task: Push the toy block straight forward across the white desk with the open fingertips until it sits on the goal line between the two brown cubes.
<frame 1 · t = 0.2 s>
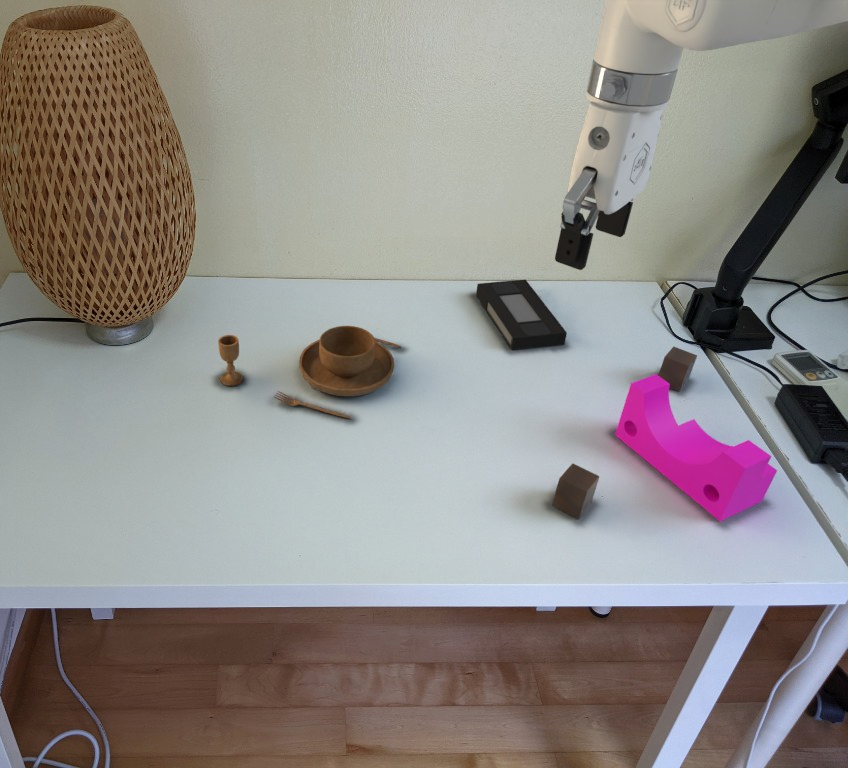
hand: (590, 248, 83), 20 cm above the table, tool pointing down, fingers open, 9 cm apart
vhs tape: (517, 320, 109), on the table
toy block: (684, 467, 85), on the table
place setting: (316, 367, 99), on the table
brown cubes: (626, 437, 89), on the table
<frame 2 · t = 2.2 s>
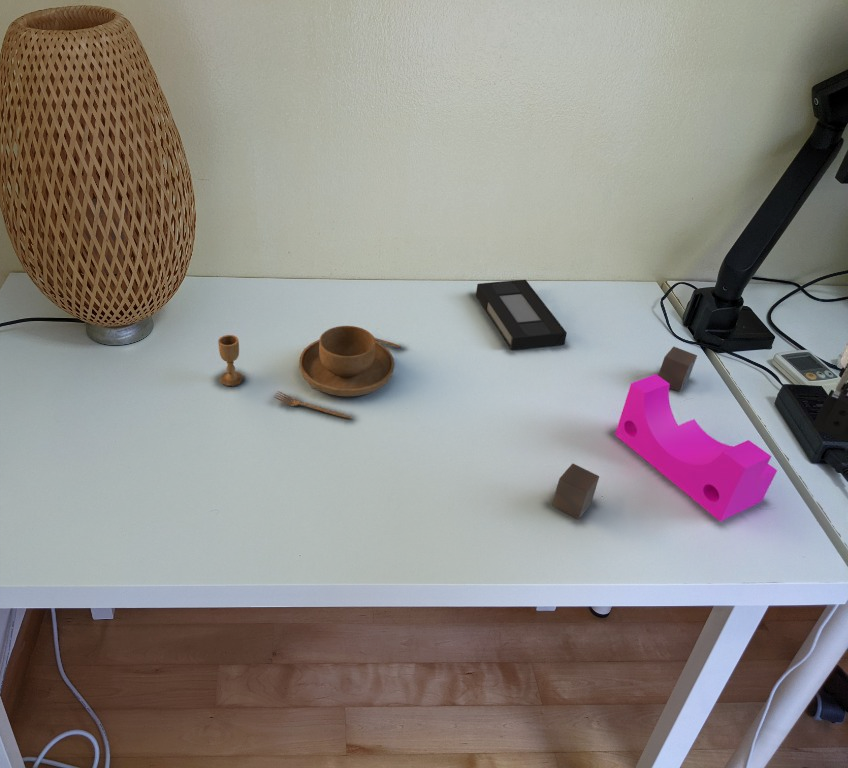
hand: (844, 406, 72), 14 cm above the table, tool pointing down, fingers open, 9 cm apart
nothing on the table moved.
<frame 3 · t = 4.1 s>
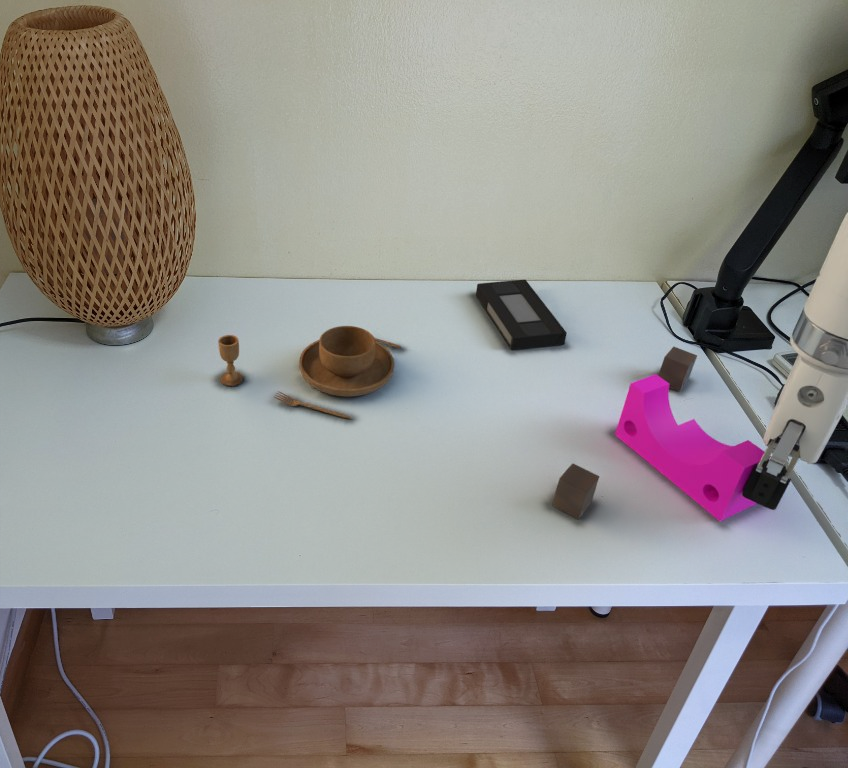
hand: (773, 475, 80), 3 cm above the table, tool pointing down, fingers open, 9 cm apart
toy block: (684, 467, 85), on the table, touching gripper
everything else where it was.
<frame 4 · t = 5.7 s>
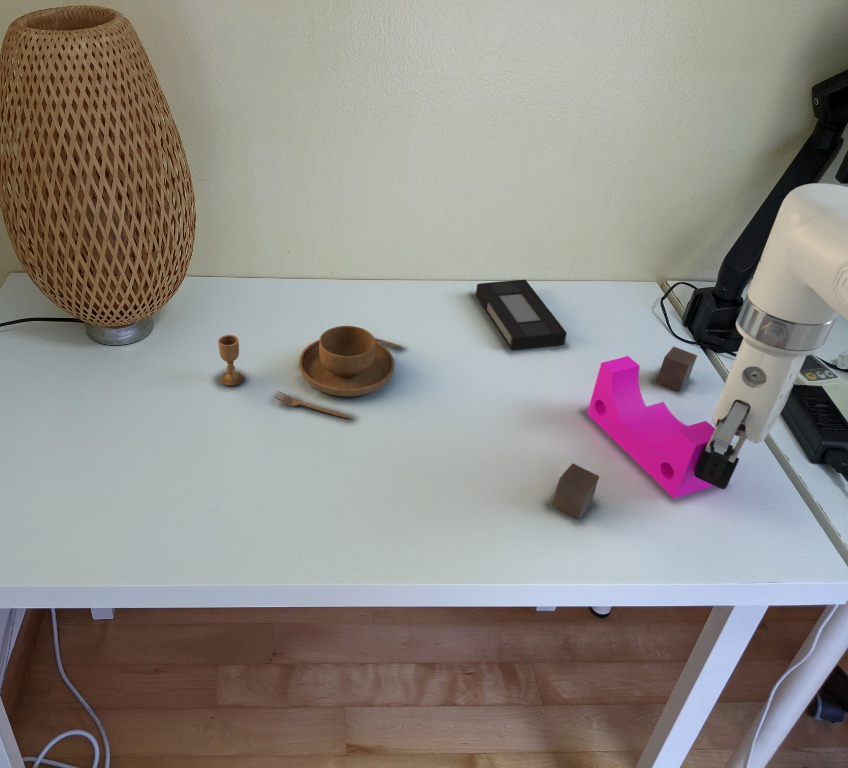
hand: (725, 457, 82), 3 cm above the table, tool pointing down, fingers open, 9 cm apart
toy block: (649, 448, 88), on the table, touching gripper
everything else where it was.
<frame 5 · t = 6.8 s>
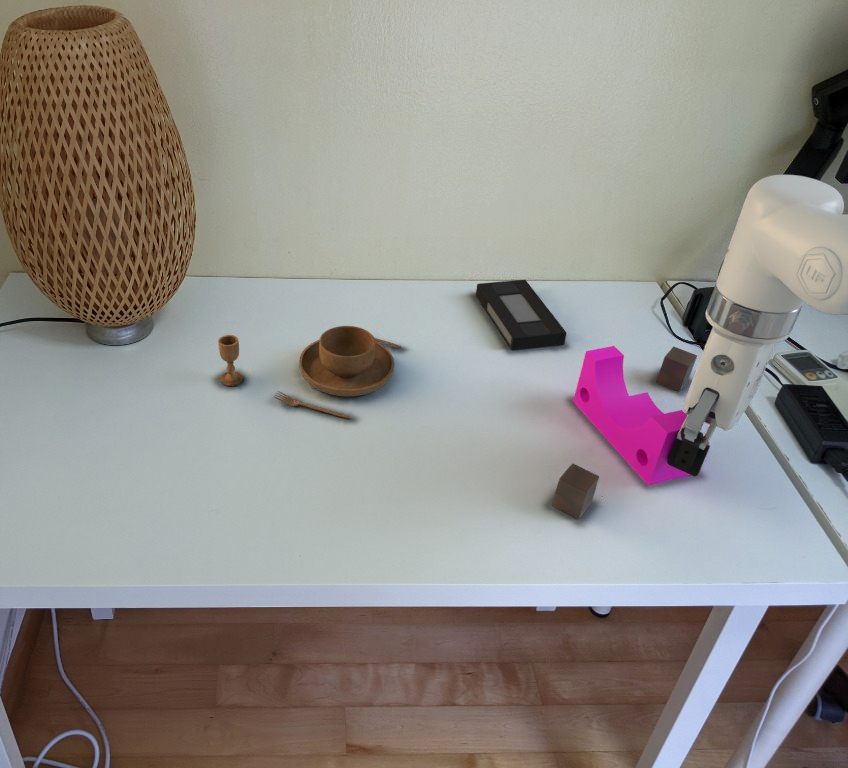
hand: (698, 445, 83), 3 cm above the table, tool pointing down, fingers open, 9 cm apart
toy block: (631, 436, 89), on the table, touching gripper
everything else where it was.
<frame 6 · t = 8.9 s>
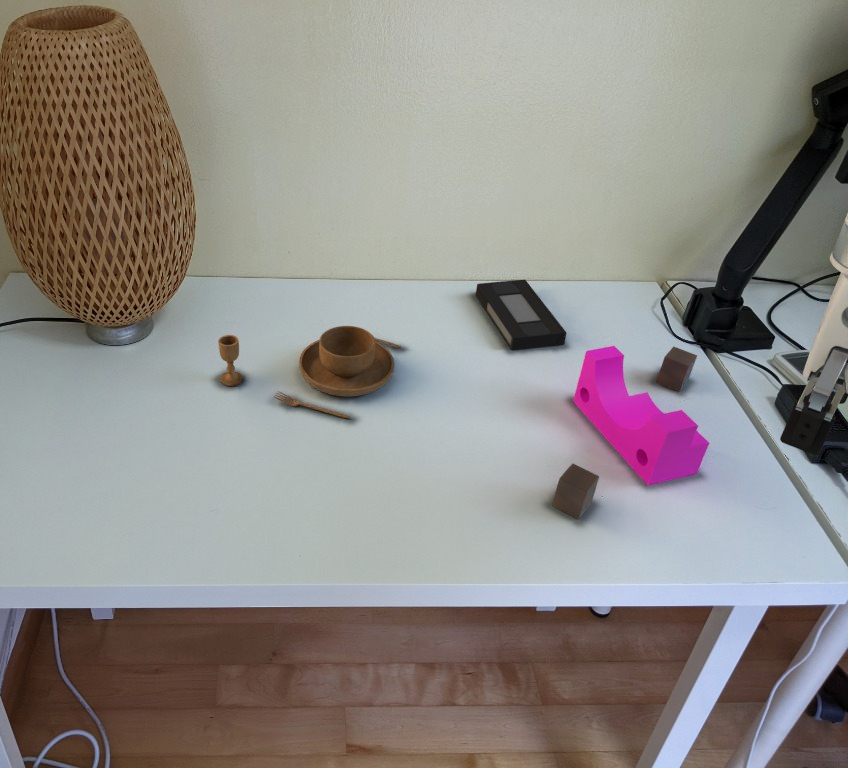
hand: (813, 421, 72), 13 cm above the table, tool pointing down, fingers open, 9 cm apart
toy block: (631, 436, 89), on the table
everything else where it was.
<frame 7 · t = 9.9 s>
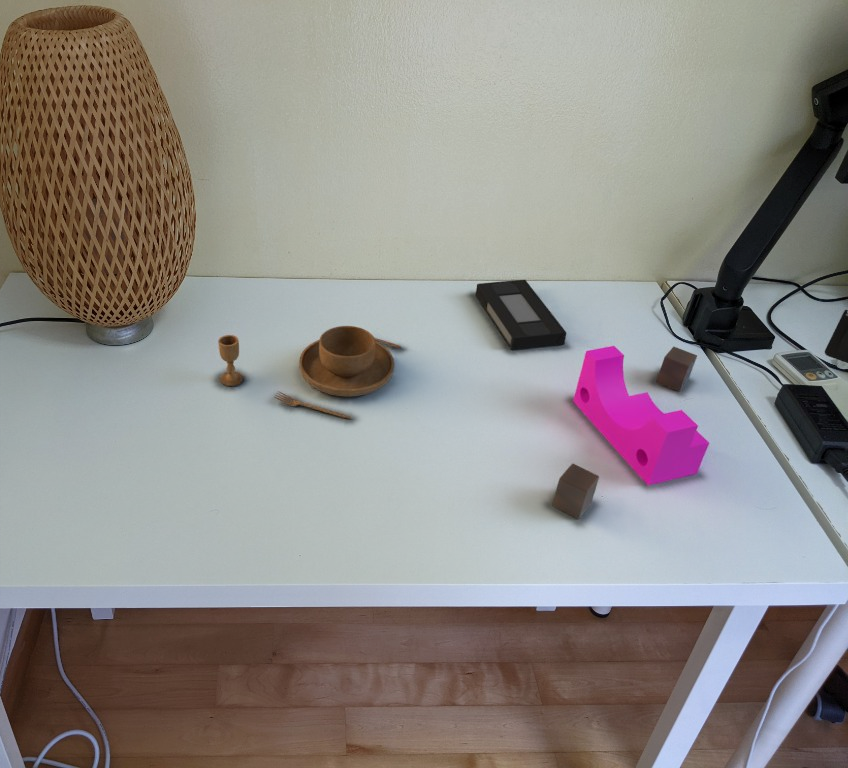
nothing on the table moved.
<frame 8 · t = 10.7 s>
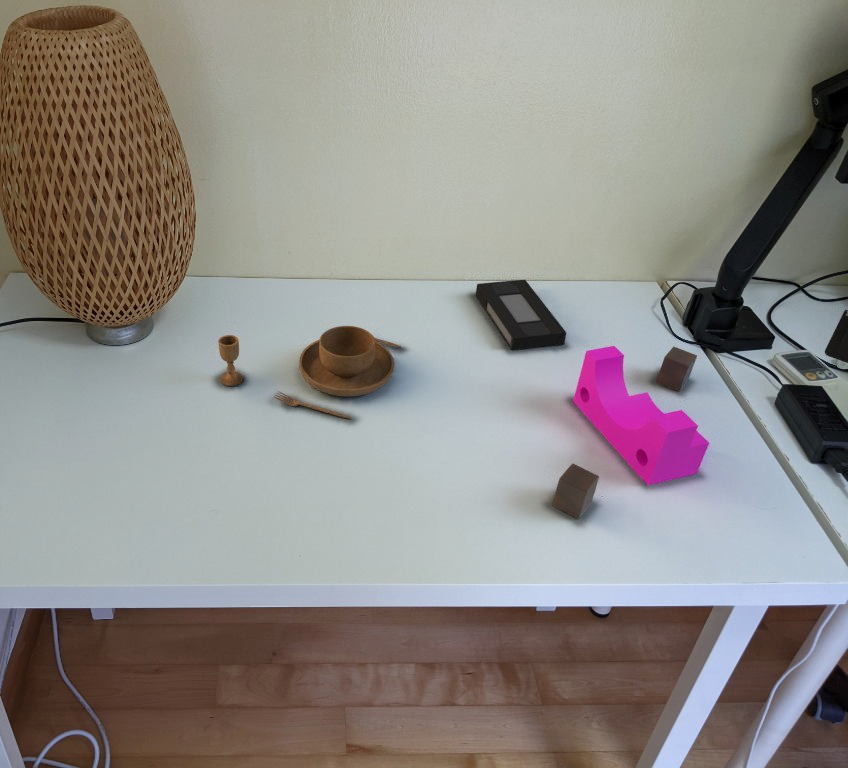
nothing on the table moved.
at the end: toy block inside the target area (0.8 cm from its centre), on the table; toy block tilted 0°; toy block moved 6.7 cm from its start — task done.
